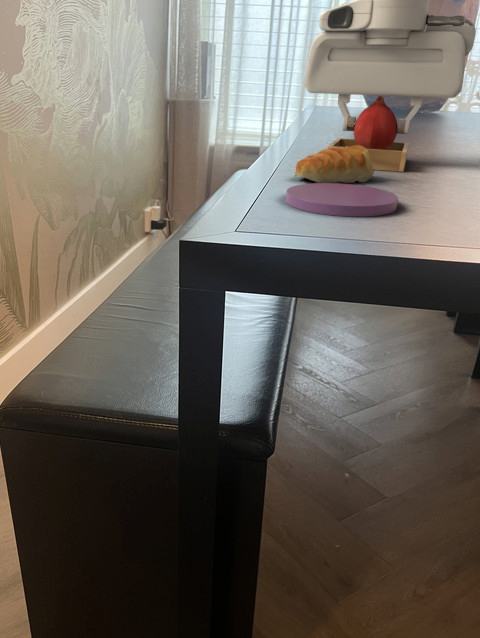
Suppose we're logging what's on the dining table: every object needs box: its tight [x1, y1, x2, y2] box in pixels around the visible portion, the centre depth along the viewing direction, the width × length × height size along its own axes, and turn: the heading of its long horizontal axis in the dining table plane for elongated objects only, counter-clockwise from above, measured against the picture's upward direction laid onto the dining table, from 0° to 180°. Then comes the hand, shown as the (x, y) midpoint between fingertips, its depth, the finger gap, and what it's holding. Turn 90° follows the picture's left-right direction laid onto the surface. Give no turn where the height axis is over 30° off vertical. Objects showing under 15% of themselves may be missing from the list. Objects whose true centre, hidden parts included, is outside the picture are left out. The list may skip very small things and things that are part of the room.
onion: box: [353, 95, 399, 150], centre depth 83 cm, size 6×6×8 cm
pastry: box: [294, 145, 375, 184], centre depth 72 cm, size 9×7×4 cm
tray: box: [327, 137, 410, 173], centre depth 84 cm, size 10×10×2 cm
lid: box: [285, 182, 399, 218], centre depth 61 cm, size 11×11×1 cm
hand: (374, 132), depth 83 cm, fingers closed on onion, 6 cm apart
